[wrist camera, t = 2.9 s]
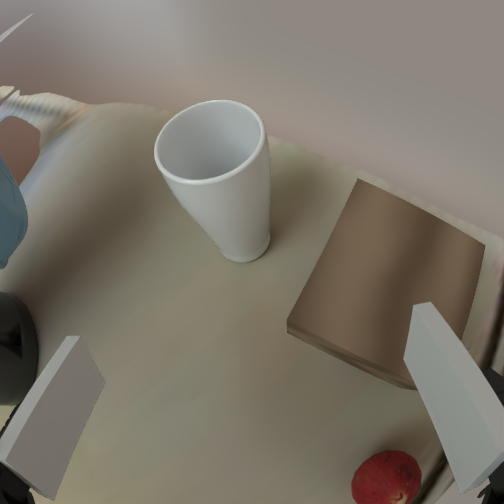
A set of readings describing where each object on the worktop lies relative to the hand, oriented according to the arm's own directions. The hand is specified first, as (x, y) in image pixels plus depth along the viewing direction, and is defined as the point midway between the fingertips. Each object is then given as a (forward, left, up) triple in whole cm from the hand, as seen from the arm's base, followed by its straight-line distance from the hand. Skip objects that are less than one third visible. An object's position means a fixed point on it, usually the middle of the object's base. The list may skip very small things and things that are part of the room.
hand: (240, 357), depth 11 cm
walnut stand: (+6, +9, -16) cm, 20 cm away
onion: (+14, -5, -17) cm, 22 cm away
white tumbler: (-8, +9, -17) cm, 20 cm away
